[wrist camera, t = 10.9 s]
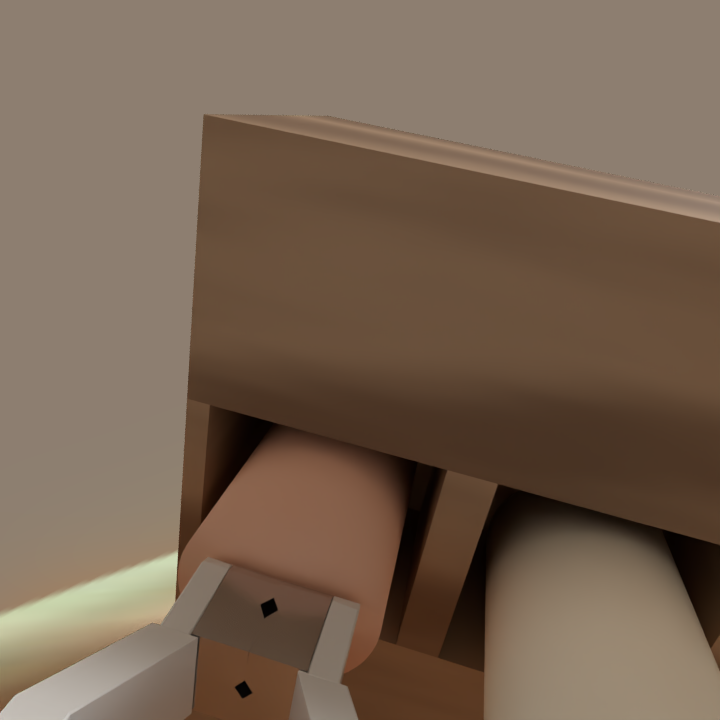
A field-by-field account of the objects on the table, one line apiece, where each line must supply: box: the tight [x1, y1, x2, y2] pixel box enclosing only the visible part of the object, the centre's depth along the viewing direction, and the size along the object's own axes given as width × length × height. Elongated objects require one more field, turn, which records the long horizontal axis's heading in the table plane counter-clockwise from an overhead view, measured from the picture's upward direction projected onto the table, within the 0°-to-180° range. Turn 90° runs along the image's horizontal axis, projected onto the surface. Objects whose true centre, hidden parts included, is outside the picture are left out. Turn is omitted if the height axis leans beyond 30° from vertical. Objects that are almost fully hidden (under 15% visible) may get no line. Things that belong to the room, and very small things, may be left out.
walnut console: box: [175, 114, 720, 720], centre depth 16 cm, size 8×18×20 cm, turn 78°
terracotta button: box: [178, 423, 418, 673], centre depth 13 cm, size 6×4×4 cm, turn 168°
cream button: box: [484, 490, 720, 720], centre depth 11 cm, size 6×4×4 cm, turn 168°
